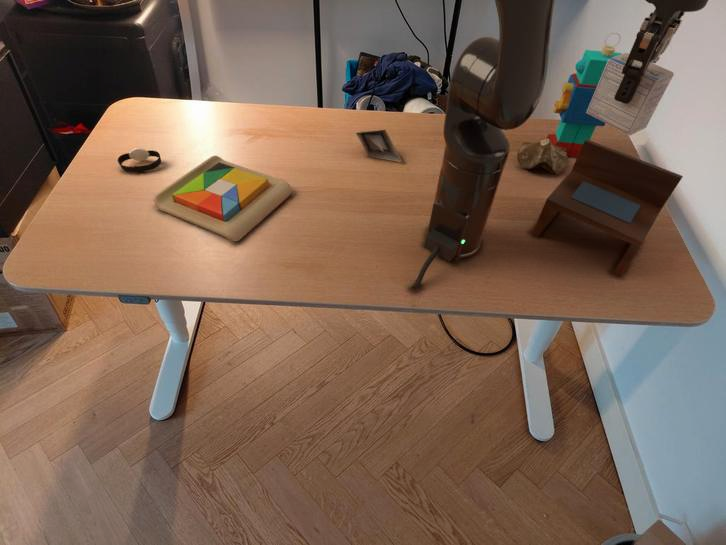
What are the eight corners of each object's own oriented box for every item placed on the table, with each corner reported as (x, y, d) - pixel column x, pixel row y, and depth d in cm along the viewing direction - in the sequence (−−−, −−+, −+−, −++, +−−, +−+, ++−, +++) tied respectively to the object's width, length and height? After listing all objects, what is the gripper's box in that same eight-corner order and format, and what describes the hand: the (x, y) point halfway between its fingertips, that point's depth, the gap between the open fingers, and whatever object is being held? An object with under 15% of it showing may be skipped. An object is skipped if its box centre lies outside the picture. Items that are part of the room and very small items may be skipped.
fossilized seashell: (573, 153, 100) (525, 145, 104) (574, 135, 94) (524, 128, 98) (561, 184, 99) (514, 175, 103) (562, 169, 93) (512, 159, 97)
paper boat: (403, 139, 103) (416, 152, 95) (387, 164, 105) (399, 179, 98) (357, 111, 98) (367, 122, 90) (342, 138, 100) (350, 151, 92)
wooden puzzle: (218, 161, 96) (215, 146, 94) (294, 192, 90) (293, 177, 88) (152, 207, 86) (146, 191, 83) (234, 246, 80) (230, 231, 77)
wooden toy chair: (620, 276, 79) (662, 212, 69) (532, 233, 86) (559, 168, 75) (641, 239, 86) (683, 175, 76) (558, 202, 92) (586, 138, 82)
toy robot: (589, 145, 107) (642, 28, 89) (595, 160, 103) (652, 41, 85) (537, 140, 107) (580, 23, 89) (542, 155, 103) (587, 36, 85)
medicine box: (646, 129, 71) (676, 72, 65) (628, 137, 70) (658, 79, 63) (601, 106, 76) (626, 51, 69) (584, 113, 74) (608, 57, 67)
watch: (162, 157, 96) (157, 141, 94) (163, 170, 93) (158, 154, 91) (121, 163, 94) (115, 147, 92) (121, 176, 91) (114, 160, 89)
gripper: (674, -58, 62) (617, 70, 75) (643, -36, 54) (585, 103, 67) (737, -45, 59) (667, 85, 72) (713, -20, 52) (639, 121, 64)
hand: (628, 93), depth 69 cm, fingers closed on medicine box, 5 cm apart
